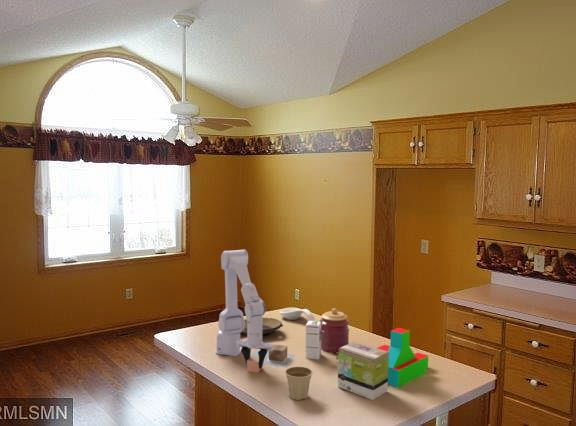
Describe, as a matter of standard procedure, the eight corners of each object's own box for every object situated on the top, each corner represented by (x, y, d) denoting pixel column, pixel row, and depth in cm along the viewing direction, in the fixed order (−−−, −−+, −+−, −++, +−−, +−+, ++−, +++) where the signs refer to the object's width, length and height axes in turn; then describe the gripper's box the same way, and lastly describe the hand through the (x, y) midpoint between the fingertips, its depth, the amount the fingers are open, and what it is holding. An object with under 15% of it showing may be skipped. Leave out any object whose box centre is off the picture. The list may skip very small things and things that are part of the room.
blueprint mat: (243, 362, 198) (243, 361, 198) (255, 350, 212) (255, 350, 212) (286, 368, 193) (286, 367, 193) (296, 355, 207) (296, 354, 207)
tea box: (336, 388, 176) (337, 347, 175) (352, 379, 184) (353, 340, 182) (373, 401, 166) (374, 358, 165) (388, 391, 174) (389, 350, 172)
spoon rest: (275, 317, 262) (275, 304, 262) (292, 313, 270) (292, 300, 269) (303, 328, 244) (304, 314, 243) (321, 324, 251) (322, 310, 250)
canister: (334, 355, 207) (335, 314, 206) (312, 347, 217) (313, 307, 215) (355, 348, 216) (356, 309, 214) (333, 341, 225) (334, 302, 224)
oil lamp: (258, 345, 219) (258, 328, 219) (215, 330, 240) (215, 314, 239) (292, 333, 236) (292, 317, 235) (249, 320, 256) (249, 305, 255)
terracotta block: (246, 371, 189) (246, 360, 189) (251, 367, 193) (251, 356, 193) (258, 373, 188) (258, 361, 188) (262, 369, 192) (262, 357, 192)
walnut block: (268, 360, 201) (268, 349, 200) (273, 354, 206) (273, 344, 206) (282, 361, 199) (283, 350, 199) (287, 356, 205) (287, 345, 204)
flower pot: (283, 390, 173) (284, 366, 173) (310, 389, 174) (310, 365, 173) (285, 402, 164) (286, 377, 163) (314, 402, 165) (314, 376, 164)
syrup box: (319, 360, 202) (320, 325, 201) (305, 358, 203) (305, 324, 202) (321, 355, 208) (321, 321, 207) (307, 353, 209) (307, 320, 208)
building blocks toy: (433, 369, 195) (435, 323, 193) (398, 388, 177) (399, 338, 176) (392, 356, 208) (393, 313, 206) (355, 372, 190) (356, 326, 189)
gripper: (233, 333, 188) (232, 368, 189) (269, 337, 184) (269, 373, 185) (240, 327, 195) (239, 361, 196) (275, 331, 190) (275, 366, 191)
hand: (254, 366), depth 191 cm, fingers closed on terracotta block, 4 cm apart
